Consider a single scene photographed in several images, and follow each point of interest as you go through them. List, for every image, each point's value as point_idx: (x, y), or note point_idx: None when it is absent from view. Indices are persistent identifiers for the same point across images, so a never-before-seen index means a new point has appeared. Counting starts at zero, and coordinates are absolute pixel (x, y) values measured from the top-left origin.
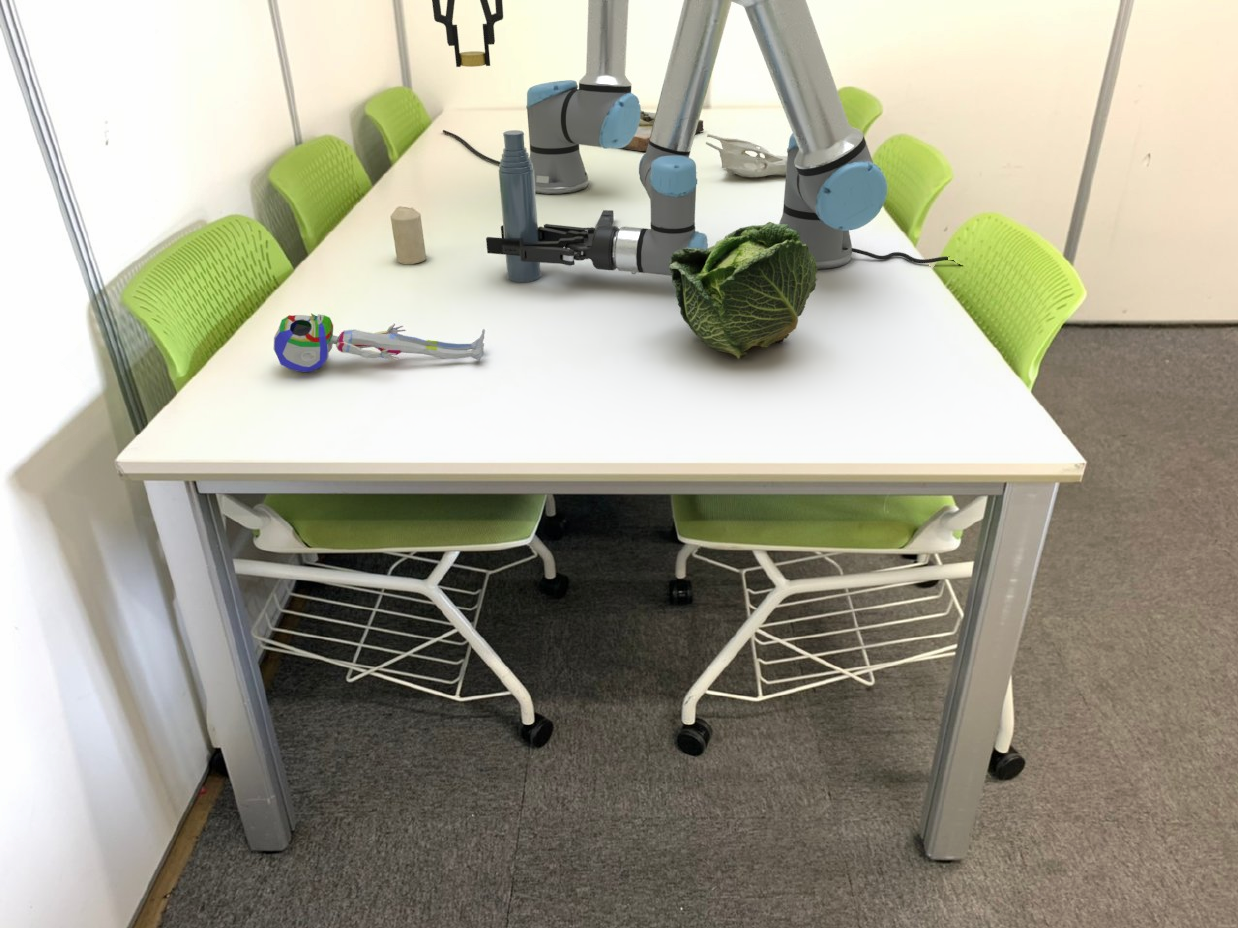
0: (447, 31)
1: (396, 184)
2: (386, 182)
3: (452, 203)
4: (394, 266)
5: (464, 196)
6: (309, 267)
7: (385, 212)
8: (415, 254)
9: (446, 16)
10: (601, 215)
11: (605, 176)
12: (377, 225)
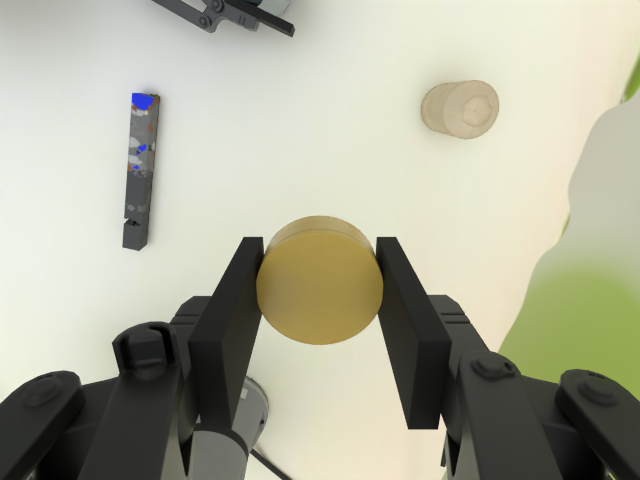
0: (474, 343)
1: (442, 442)
2: None
3: (370, 357)
4: None
5: (353, 382)
6: (600, 104)
7: None
8: (441, 85)
9: (524, 402)
10: (140, 225)
11: None
12: (481, 281)
